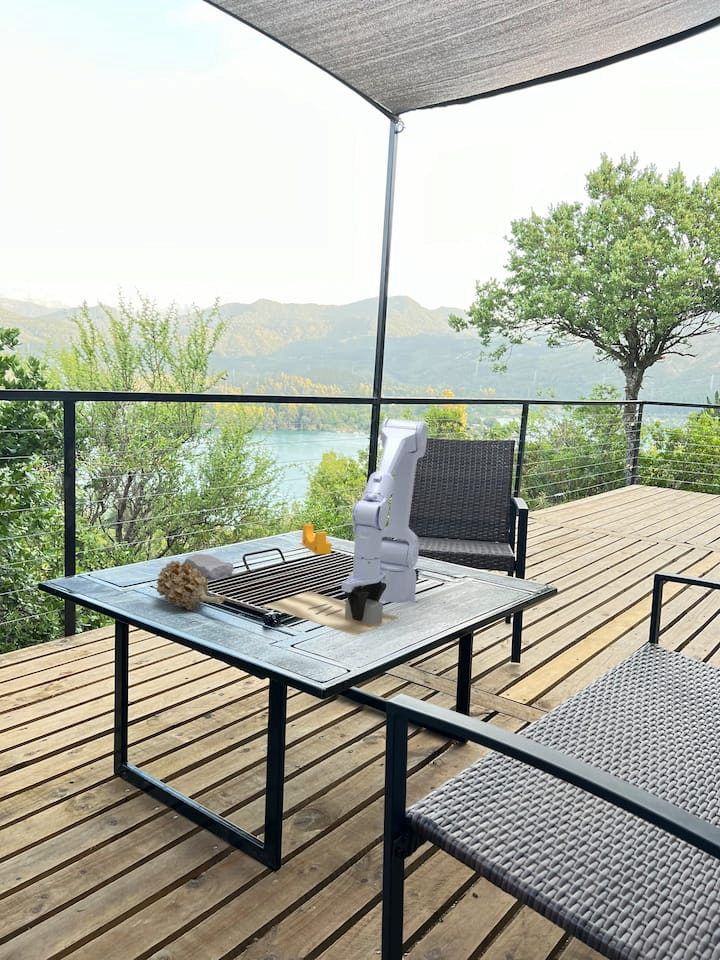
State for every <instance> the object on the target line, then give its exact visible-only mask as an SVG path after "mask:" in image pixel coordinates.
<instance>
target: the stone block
mask: <svg viewBox="0 0 720 960" xmlns="http://www.w3.org/2000/svg"><path fill="white" fill-rule="evenodd" d="M184 562H186V563H187V564H189V563H190V565H191V568H192V569H194V568H196V569H197V571H200V573H201V576H202V577H205V578H206V580H208V581H209V580H217V579H219V578H224V577H225V578H226V577H230V576H232V574H233V572H234V563H231V562H228V561H226V562H225V561H223V560H221V559H219V558H218V557H215V556H213V555H211V554H210V555H209V554H203V553H199V554H196V553H195V554H193V555H189V556H188V557H186V558H185V560H184Z"/></svg>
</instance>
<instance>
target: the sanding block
mask: <svg viewBox="0 0 720 960" xmlns="http://www.w3.org/2000/svg"><path fill="white" fill-rule="evenodd" d="M345 602H346V607H345V620H348V621H351V622H354V623H358V624H361V625H364V626H368V627H374V626H376V625H378V624H381V623H382V612H383V610H384V602H380V601H379V602H378V601H374V600H371V599H367V600H366V603H365V607H364V614H363V618H362V621H357V620H354V619H353V618H352V613H351V608H350V604H349V601H348V598H346V599H345ZM383 613H384V612H383Z"/></svg>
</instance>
